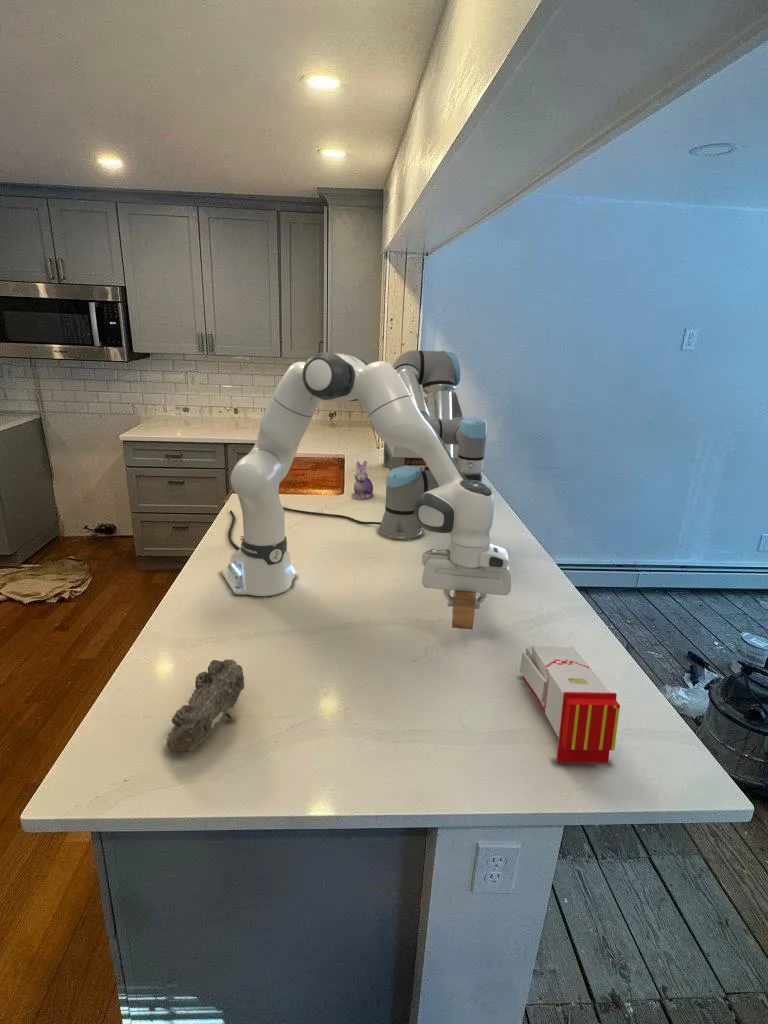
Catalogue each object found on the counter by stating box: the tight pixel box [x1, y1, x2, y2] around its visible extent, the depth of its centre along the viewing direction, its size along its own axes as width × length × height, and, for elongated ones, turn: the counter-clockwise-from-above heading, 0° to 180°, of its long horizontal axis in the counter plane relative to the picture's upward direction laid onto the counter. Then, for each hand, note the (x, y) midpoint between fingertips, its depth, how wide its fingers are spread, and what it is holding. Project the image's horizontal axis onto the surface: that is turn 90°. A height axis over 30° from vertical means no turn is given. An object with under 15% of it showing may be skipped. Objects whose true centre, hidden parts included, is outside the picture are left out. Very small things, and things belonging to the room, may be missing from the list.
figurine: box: [353, 460, 374, 500], centre depth 235 cm, size 9×10×15 cm
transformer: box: [383, 390, 463, 471], centre depth 268 cm, size 34×33×41 cm
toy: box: [519, 645, 621, 764], centre depth 112 cm, size 12×13×30 cm
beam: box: [451, 590, 477, 631], centre depth 152 cm, size 53×5×8 cm, turn 173°
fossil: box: [166, 658, 245, 754], centre depth 106 cm, size 22×10×15 cm
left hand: (463, 606), depth 132 cm, fingers closed on beam, 5 cm apart
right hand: (462, 544), depth 174 cm, fingers closed on beam, 5 cm apart
